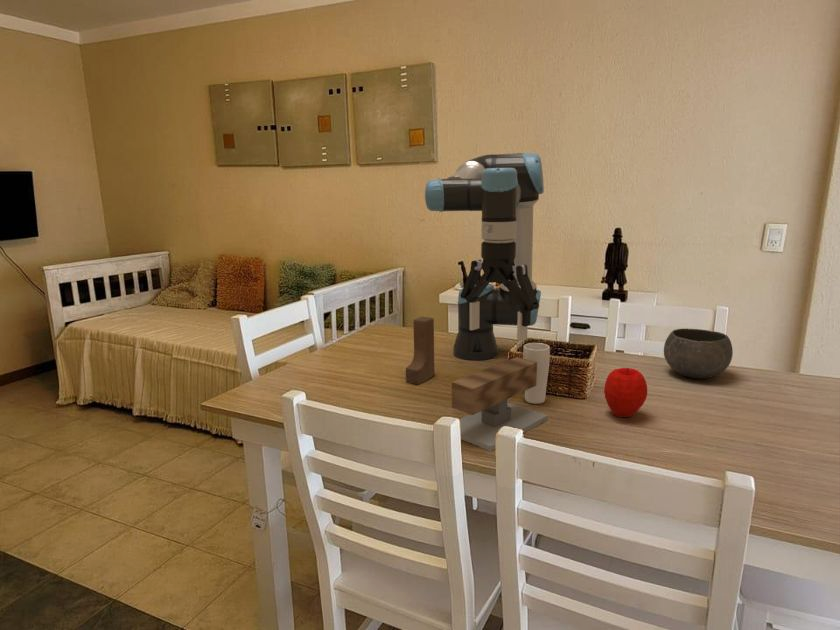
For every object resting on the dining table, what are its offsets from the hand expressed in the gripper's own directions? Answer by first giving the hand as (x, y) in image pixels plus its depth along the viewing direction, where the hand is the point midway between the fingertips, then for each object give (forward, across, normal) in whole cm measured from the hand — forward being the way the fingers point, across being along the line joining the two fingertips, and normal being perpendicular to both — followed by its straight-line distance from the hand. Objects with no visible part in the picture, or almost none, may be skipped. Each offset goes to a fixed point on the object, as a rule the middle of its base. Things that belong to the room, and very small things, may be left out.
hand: (497, 334), depth 124 cm
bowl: (+23, +21, +67) cm, 74 cm away
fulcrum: (+22, 0, 0) cm, 23 cm away
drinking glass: (+23, -2, +19) cm, 30 cm away
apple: (+23, +19, +26) cm, 39 cm away
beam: (+15, 0, 0) cm, 15 cm away
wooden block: (+23, -36, +10) cm, 44 cm away
